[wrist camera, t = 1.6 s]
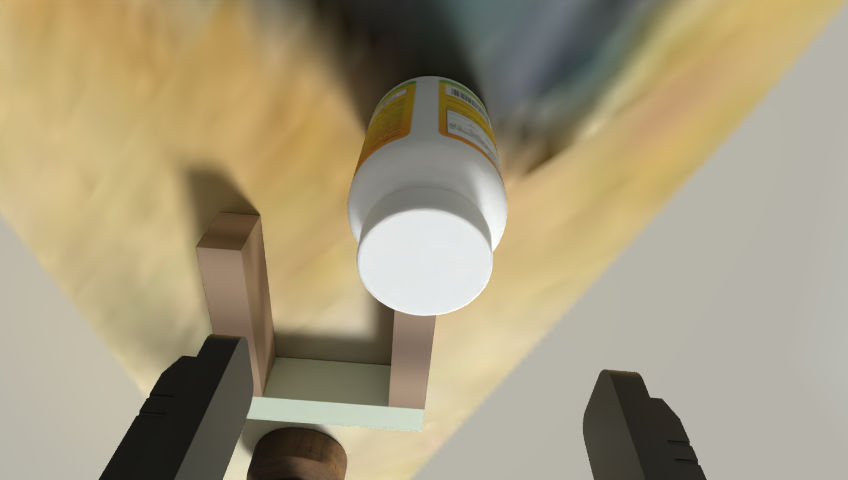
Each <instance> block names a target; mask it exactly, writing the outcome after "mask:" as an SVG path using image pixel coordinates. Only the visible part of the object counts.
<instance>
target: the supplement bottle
mask: <svg viewBox="0 0 848 480" xmlns="http://www.w3.org/2000/svg"><path fill="white" fill-rule="evenodd" d="M348 219H349V224H350V227H351V230H352V233H353V235H354V237H355V239H356V241H357V243H358V244H359V245H358V251H357V267H358V272H359V275H360V277H361V280H362V282H363V284H364V285H365V287H366V288H367V290H368V291H369V292H370V293H371V294H372V295H373V296H374V297H375V298H376V299H377V300H379V301H380V302H382V303H383V304H385V305H386V306H388V307H390V308H392V309H395V310H397V311H400V312H404V313H407V314H412V315H421V316H430V315H440V314H445V313H448V312H452V311H455V310H457V309H460V308H462V307H463V306H465V305H467V304H468V303H470V302H471V301H473V300H474V299H475V298H476V297H477V296H478V295H479V294H480V293H481V292H482V291H483V289H484V288H485V286H486V285H487V283H488V281H489V278H490V276H491V272H492V267H493V253H492V252H493V251H494V249H495V248H496V246H497V245H498V243H499V241H500V239H501V237H502V235H503V232H504V229H505V225H506V219H507V201H506V193H505V188H504V183H503V179H502V174H501V169H500V164H499V159H498V154H497V149H496V144H495V140H494V135H493V130H492V125H491V121H490V119H489V116H488V114H487V111H486V109H485V107H484V105H483V104H482V102H481V101H480V100H479V98H478V97H477V96H476V95H475V94H474V93H473V92H472V91H471V90H469V89H468V88H467V87H465V86H464V85H462V84H460V83H458V82H456V81H454V80H451V79H448V78H444V77H438V76H423V77H417V78H413V79H410V80H407V81H405V82H403V83H401V84H399V85H398V86H396V87H394V88H393V89H392V90H390V91H389V92H388V93H387V94H386V95H385V96H384V97H383V98H382V99H381V101H380V102H379V103H378V105H377V107H376V109H375V111H374V113H373V115H372V118H371V121H370V124H369V127H368V130H367V134H366V137H365V141H364V144H363V147H362V151H361V154H360V157H359V161H358V164H357V167H356V170H355V174H354V177H353V181H352V184H351V188H350V193H349V199H348Z"/></svg>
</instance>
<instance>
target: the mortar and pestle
mask: <svg viewBox="0 0 848 480" xmlns="http://www.w3.org/2000/svg"><path fill="white" fill-rule="evenodd" d="M346 468H347V457H346V453H345V451H344V450H343V448H342V447H341V446H340V445H339V444H338V443H337V442H336V441H335V440H334V439H332V438H330V437H329V436H327V435H325V434H322V433H320V432H317V431H313V430H310V429H303V428H283V429H279V430H275V431H272V432H270V433H268V434H266V435H265V436H263V437H262V438H261V439H260V440H259V442H258V443H257V445H256V447H255V450H254V453H253V456H252V460H251V463H250V466H249V469H248V473H247V480H344V478H345V473H346Z"/></svg>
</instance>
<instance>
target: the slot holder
mask: <svg viewBox="0 0 848 480" xmlns="http://www.w3.org/2000/svg"><path fill="white" fill-rule="evenodd" d="M196 251H197V256H198V260H199V265H200V270H201V275H202V280H203V285H204V290H205V295H206V299H207V304H208V309H209V314H210V319H211V324H212V329H213V333H214V334H218V335H229V336H241V337H246V339H247V341H248V347H249V354H250V361H251V368H252V375H253V382H254V389H253V398H252V403H251V406H250V410H249V412H248V415H247V418H246V419H259V420H272V421H285V422H299V423H312V424H325V425H339V426H352V427H365V428H379V429H392V430H405V431H418V432H422V425H423V417H424V408H425V400H426V392H427V384H428V376H429V368H430V360H431V352H432V344H433V336H434V328H435V319H436V315H430V316H421V315H412V314H407V313H404V312H400V311H397V310H395V312H394V328H393V344H392V359H391V366H389V365H376V364H363V363H350V362H337V361H324V360H311V359H299V358H286V357H277V356H276V348H275V339H274V330H273V321H272V313H271V304H270V295H269V287H268V278H267V269H266V261H265V252H264V243H263V235H262V226H261V217H260V215H248V214H236V213H224V212H219V214H218V215H217V217H216V218H215V220H214V221H213V223H212V224H211V225H210V227H209V228H208V230H207V231H206V233H205V234H204V236H203V237H202V239H201V240H200V242H199V243H198V245H197V246H196Z"/></svg>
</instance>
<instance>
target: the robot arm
mask: <svg viewBox="0 0 848 480" xmlns="http://www.w3.org/2000/svg"><path fill="white" fill-rule="evenodd" d="M253 389H254V382H253V375H252V368H251V361H250V354H249V347H248V341H247V339H246V337H241V336H229V335H218V334H211V335H209V336H208V337H207V339H206V340H205V342H204V344H203V346H202V348H201V349H200V351H199V353H198V355H197V357H191V356H182V357H180V358H179V359H178V360H177V361H176V362H175V363H173V364H172V365H171V366H170V367H169V368H168V369H166V370H165V371H164V372H163V373H162V374H161V376H160V378H159V379H158V381H157V383H156V384H155V386H154V388H153V389H152V391H151V393H150V397H149V398H147V399H146V401H145V403H144V404H143V406H142V408H141V409H140V413H139V415H138V416H136V418H135V419H134V421H133V423H132V425H131V426H130V428H129V429H128V431H127V433H126V435H125V436H124V438H123V440H122V442H121V443H120V445H119V446H118V448H117V450H116V451H115V453H114V455H113V456H112V458H111V460H110V461H109V463H108V465H107V466H106V468H105V470H104V471H103V473H102V475H101V477H100V478H99V480H223V477H224V475H225V472H226V470H227V467H228V464H229V462H230V459H231V457H232V454H233V451H234V449H235V446H236V444H237V441H238V438H239V436H240V433H241V431H242V428H243V425H244V423H245V420H246V418H247V415H248V412H249V410H250V406H251V403H252V398H253ZM583 435H584V441H585V445H586V449H587V453H588V457H589V461H590V465H591V469H592V473H593V477H594V480H706V478H705V475H704V473H703V470H702V468H701V466H700V465H698V459H697V457H696V455H695V452H694V450H693V448H692V446H690V441H689V439H688V437H687V434H686V432H685V430H684V427H683V425H682V423H681V421H680V419H679V418H678V416H677V415H676V414H675V413H674V412H673V411H672V410H671V409H670V407H669V406H668V405H667V404H666V403H665V402H664V401H663V400H662V399H659V398H650V396H649V394H648V391H647V389H646V386H645V384H644V381H643V379H642V377H641V376H640V374H639V373H637V372H627V371H615V370H602V371H601V373H600V374H599V377H598V380H597V382H596V385H595V387H594V390H593V392H592V395H591V398H590V400H589V403H588V405H587V408H586V410H585V413H584V419H583Z"/></svg>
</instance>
